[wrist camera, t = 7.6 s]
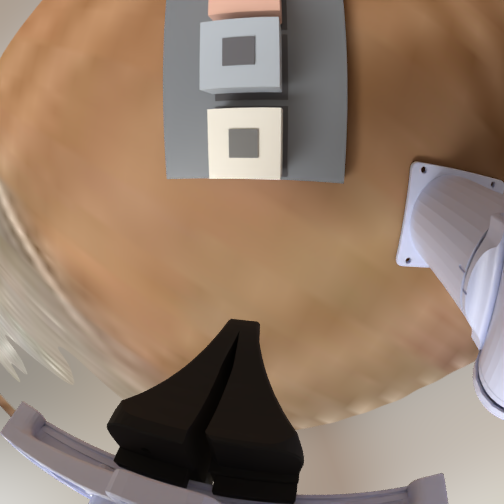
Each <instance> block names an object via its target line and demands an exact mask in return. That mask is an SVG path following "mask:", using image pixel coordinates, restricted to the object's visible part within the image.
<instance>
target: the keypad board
mask: <svg viewBox="0 0 504 504" xmlns="http://www.w3.org/2000/svg"><path fill="white" fill-rule="evenodd" d="M281 1H282V24H280V26H281V38H282V92H247V93H223V94H211V93H208V92H204V91H201V90H200V23H201V22H208V21H213V20H212V19H211V18H210V17H209V16H208V0H166V12H165V29H164V55H163V112H164V140H165V159H166V174H167V179H183V178H209V159H208V121H207V109H222V108H259V107H266V108H282V110H283V159H282V175H281V180H302V181H318V182H332V183H344V173H345V157H346V136H347V49H346V30H345V16H344V4H343V0H281Z"/></svg>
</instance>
